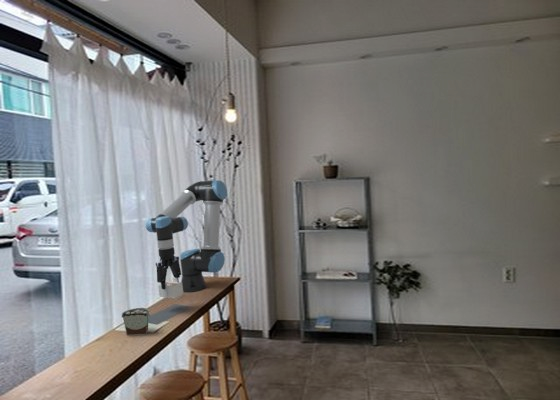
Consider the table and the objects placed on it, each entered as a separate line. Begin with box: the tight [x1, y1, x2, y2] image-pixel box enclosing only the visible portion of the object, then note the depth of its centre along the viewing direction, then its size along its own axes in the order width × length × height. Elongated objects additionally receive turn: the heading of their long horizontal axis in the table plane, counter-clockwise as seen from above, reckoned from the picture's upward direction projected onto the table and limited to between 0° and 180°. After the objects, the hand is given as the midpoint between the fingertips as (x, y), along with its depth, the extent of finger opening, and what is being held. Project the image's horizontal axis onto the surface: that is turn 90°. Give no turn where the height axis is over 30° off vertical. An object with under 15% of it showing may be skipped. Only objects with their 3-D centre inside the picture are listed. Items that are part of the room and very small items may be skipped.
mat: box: [148, 303, 193, 325], centre depth 193 cm, size 24×13×1 cm, turn 150°
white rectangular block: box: [157, 280, 184, 299], centre depth 196 cm, size 10×6×6 cm, turn 60°
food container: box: [121, 307, 151, 336], centre depth 173 cm, size 12×6×10 cm, turn 84°
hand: (171, 292), depth 196 cm, fingers closed on white rectangular block, 6 cm apart
